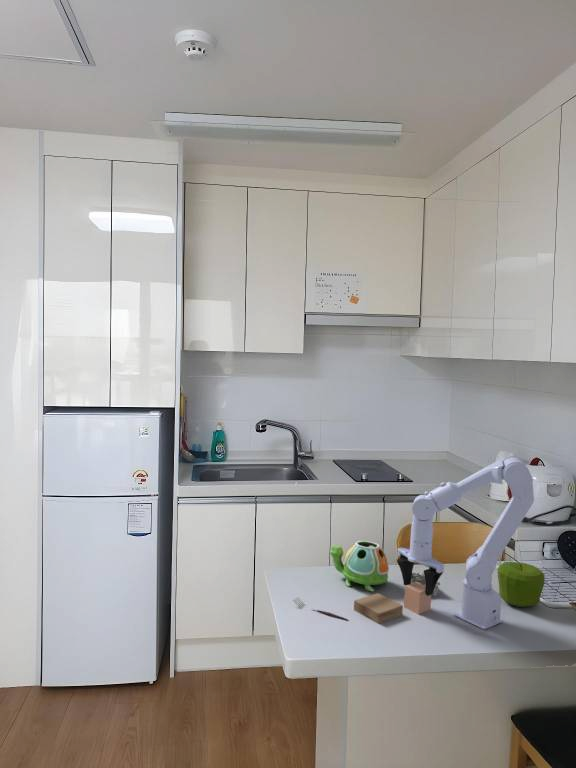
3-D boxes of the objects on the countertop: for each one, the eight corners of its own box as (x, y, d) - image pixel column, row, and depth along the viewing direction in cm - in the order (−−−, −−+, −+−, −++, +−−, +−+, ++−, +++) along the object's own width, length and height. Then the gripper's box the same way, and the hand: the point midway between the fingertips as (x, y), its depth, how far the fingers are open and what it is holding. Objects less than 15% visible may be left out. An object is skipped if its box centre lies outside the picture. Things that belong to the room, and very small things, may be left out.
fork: (346, 624, 149) (346, 616, 149) (292, 607, 157) (292, 600, 157) (350, 620, 151) (351, 612, 151) (297, 603, 159) (297, 596, 159)
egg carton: (440, 597, 167) (441, 583, 167) (416, 598, 166) (417, 584, 166) (425, 582, 178) (426, 569, 178) (402, 582, 176) (403, 569, 176)
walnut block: (402, 616, 155) (402, 605, 154) (378, 625, 149) (378, 613, 149) (377, 603, 162) (377, 593, 162) (353, 611, 156) (354, 600, 156)
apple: (517, 615, 158) (520, 574, 157) (486, 596, 169) (488, 558, 168) (552, 609, 162) (555, 569, 161) (519, 591, 174) (522, 554, 173)
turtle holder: (338, 568, 185) (340, 531, 184) (393, 581, 177) (395, 543, 176) (321, 581, 174) (323, 542, 174) (379, 596, 166) (381, 555, 165)
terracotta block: (430, 610, 158) (431, 588, 158) (418, 614, 155) (419, 592, 155) (416, 603, 162) (417, 582, 162) (403, 607, 159) (405, 585, 159)
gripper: (391, 534, 161) (387, 582, 162) (433, 551, 149) (429, 603, 150) (408, 530, 165) (405, 577, 166) (450, 546, 154) (446, 596, 155)
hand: (417, 589), depth 159 cm, fingers open, 7 cm apart
